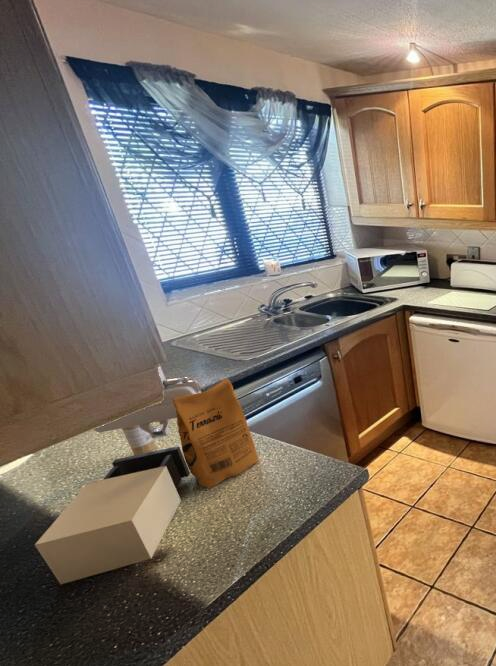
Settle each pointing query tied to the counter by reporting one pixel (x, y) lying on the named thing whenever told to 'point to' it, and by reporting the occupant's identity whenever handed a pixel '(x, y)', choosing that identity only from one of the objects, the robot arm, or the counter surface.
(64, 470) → the counter surface
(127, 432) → the sprinkles bottle
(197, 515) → the counter surface
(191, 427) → the coffee package
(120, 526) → the beige rectangular block
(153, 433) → the robot arm
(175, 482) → the drawer
